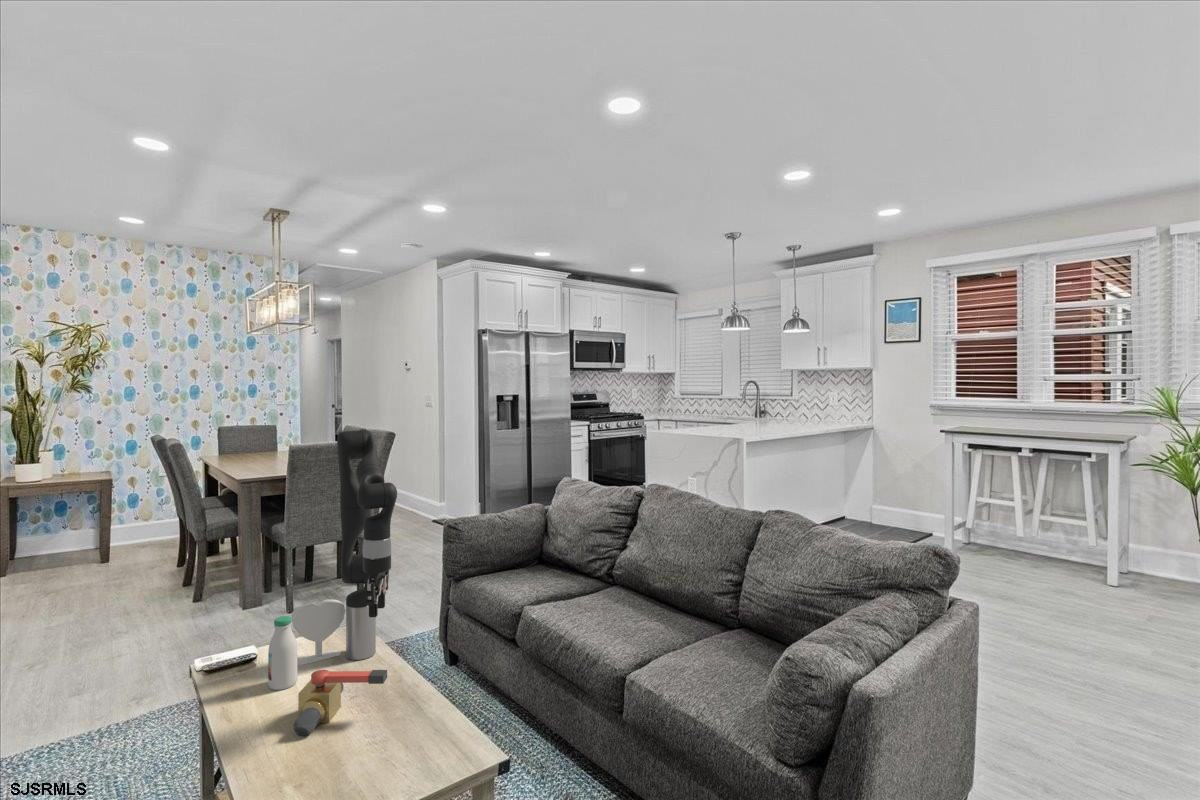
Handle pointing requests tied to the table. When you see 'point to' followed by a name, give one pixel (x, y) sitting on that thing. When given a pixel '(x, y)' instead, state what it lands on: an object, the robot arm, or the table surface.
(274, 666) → the milk bottle
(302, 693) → the valve body
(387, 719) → the table surface
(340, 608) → the heart sculpture
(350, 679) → the lever
